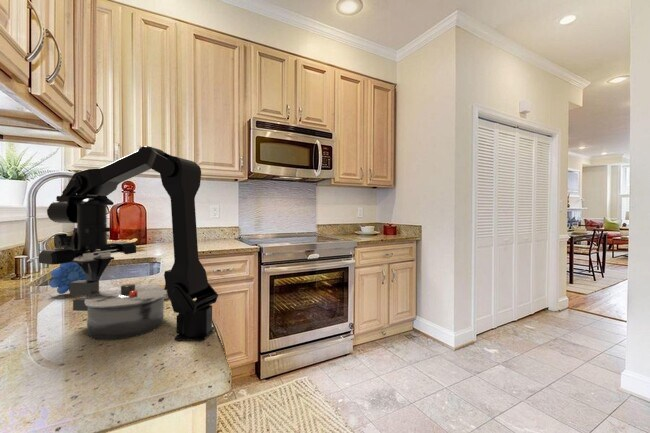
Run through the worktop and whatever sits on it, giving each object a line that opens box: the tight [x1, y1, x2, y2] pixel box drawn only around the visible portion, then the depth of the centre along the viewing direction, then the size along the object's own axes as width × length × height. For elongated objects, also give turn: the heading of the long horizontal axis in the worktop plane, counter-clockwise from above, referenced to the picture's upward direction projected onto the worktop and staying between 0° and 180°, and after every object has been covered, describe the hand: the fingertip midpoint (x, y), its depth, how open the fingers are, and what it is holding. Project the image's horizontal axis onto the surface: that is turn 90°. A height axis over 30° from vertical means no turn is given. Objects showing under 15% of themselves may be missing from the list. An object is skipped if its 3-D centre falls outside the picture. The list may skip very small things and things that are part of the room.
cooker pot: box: [72, 296, 165, 341], centre depth 70 cm, size 20×15×7 cm
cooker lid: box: [69, 280, 166, 308], centre depth 70 cm, size 21×16×4 cm
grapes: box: [49, 262, 88, 295], centre depth 97 cm, size 12×7×12 cm, turn 129°
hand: (93, 286), depth 73 cm, fingers closed
